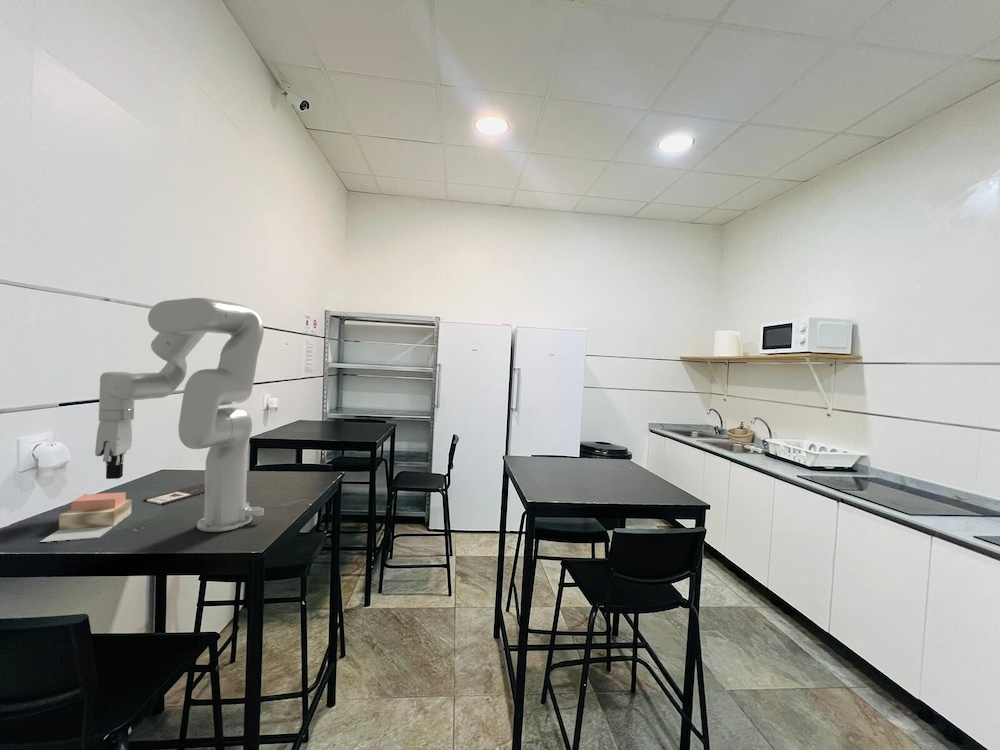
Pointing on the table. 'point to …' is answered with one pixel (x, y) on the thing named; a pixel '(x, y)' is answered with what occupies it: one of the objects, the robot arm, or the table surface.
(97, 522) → the wooden block
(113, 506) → the pink rubber eraser
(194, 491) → the chocolate bar
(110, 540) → the table surface
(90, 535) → the mat
